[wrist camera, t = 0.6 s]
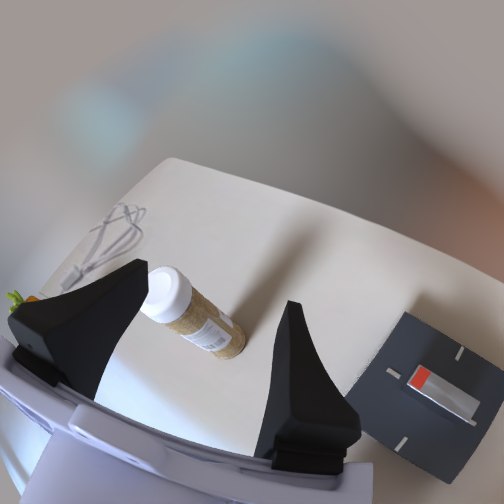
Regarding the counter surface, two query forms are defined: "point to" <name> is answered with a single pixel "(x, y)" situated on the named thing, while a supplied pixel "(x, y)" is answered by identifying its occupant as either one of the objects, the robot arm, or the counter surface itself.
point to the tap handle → (440, 395)
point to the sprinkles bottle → (191, 313)
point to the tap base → (416, 414)
